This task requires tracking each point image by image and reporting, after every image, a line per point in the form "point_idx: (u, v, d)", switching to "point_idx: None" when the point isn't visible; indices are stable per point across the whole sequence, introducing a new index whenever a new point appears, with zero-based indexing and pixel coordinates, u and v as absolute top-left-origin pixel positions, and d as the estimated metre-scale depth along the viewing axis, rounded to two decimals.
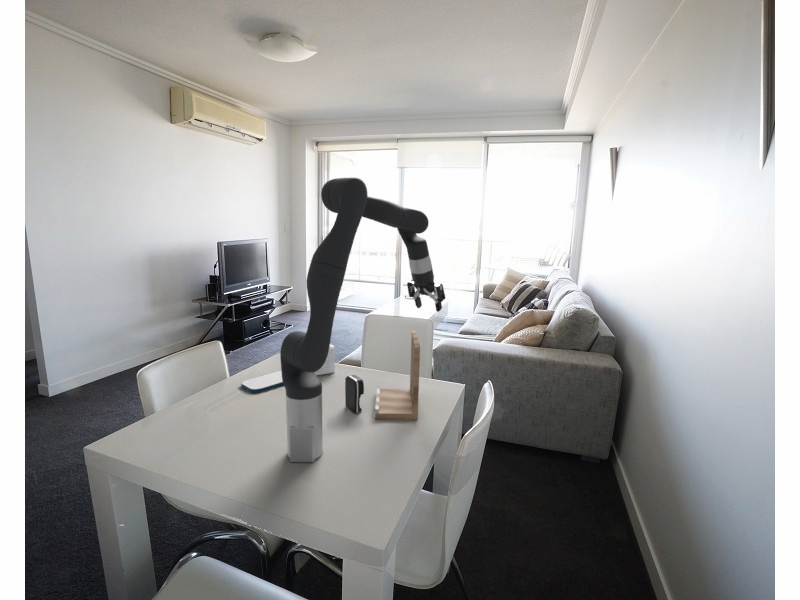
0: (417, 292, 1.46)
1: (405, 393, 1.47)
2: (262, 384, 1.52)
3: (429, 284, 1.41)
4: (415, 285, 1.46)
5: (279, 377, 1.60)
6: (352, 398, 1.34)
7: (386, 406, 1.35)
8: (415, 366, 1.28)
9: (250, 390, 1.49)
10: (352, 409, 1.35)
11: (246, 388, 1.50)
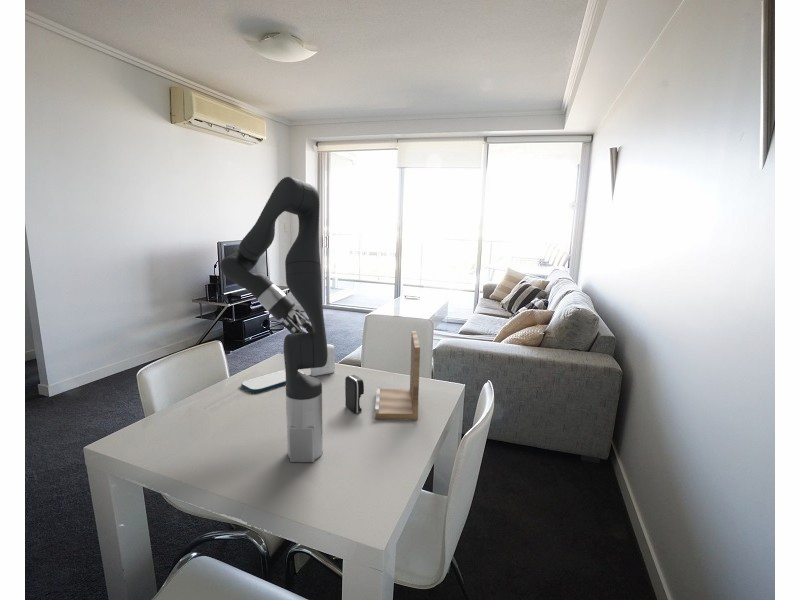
0: (298, 320, 1.28)
1: (405, 393, 1.47)
2: (263, 385, 1.52)
3: (293, 310, 1.33)
4: (291, 316, 1.27)
5: (279, 377, 1.60)
6: (352, 398, 1.34)
7: (386, 406, 1.35)
8: (415, 366, 1.28)
9: (250, 390, 1.49)
10: (352, 409, 1.35)
11: (246, 388, 1.50)
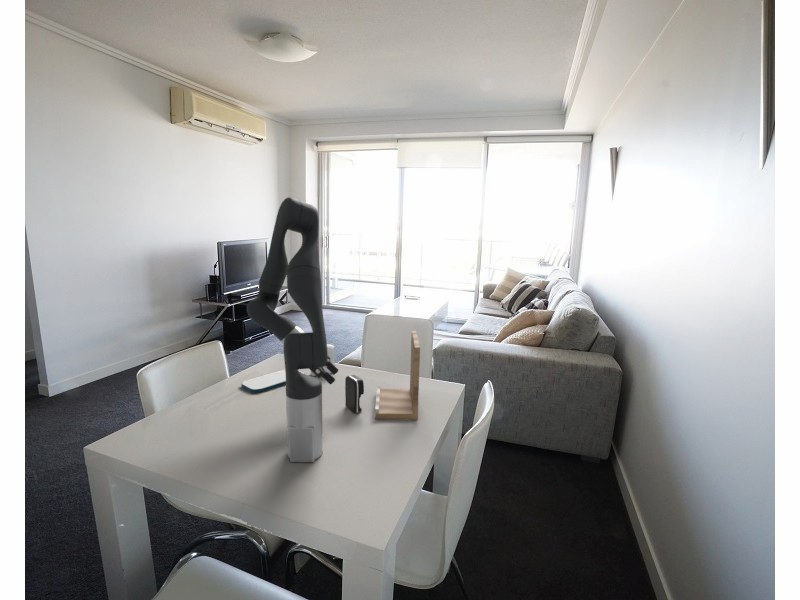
0: None
1: (405, 393, 1.47)
2: (263, 385, 1.52)
3: None
4: None
5: (279, 377, 1.60)
6: (352, 398, 1.34)
7: (386, 406, 1.35)
8: (415, 366, 1.28)
9: (251, 390, 1.48)
10: (352, 409, 1.35)
11: (246, 388, 1.50)
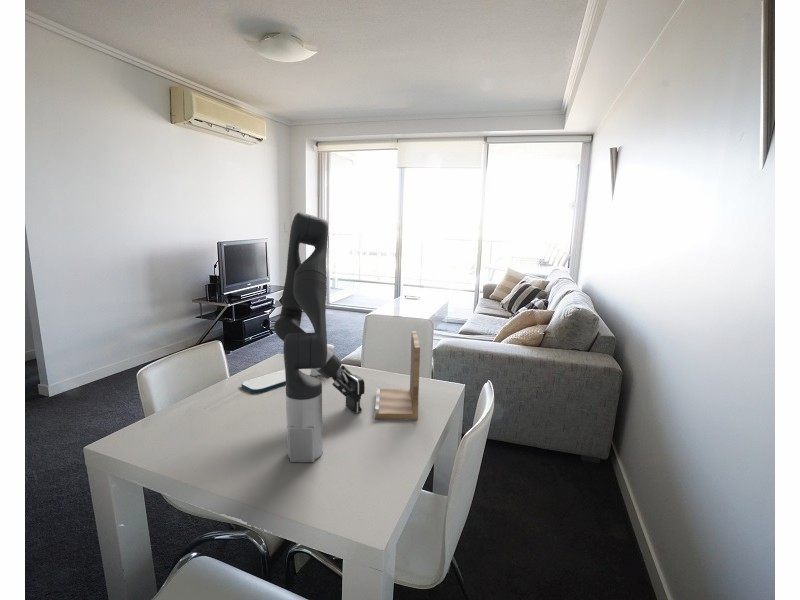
0: (346, 379, 1.33)
1: (405, 393, 1.47)
2: (263, 385, 1.52)
3: None
4: (339, 376, 1.32)
5: (279, 377, 1.60)
6: None
7: (386, 406, 1.35)
8: (415, 366, 1.28)
9: (251, 390, 1.48)
10: (352, 409, 1.35)
11: (246, 389, 1.50)
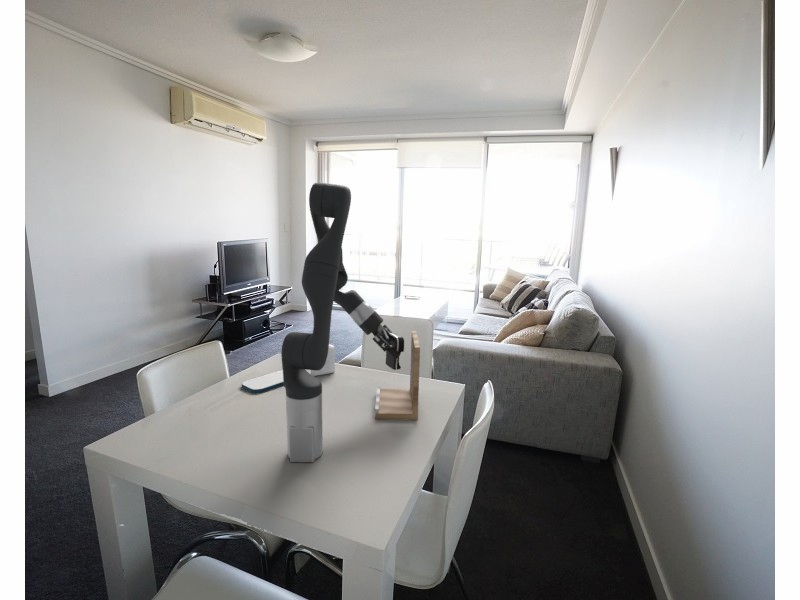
0: (387, 335, 1.36)
1: (405, 393, 1.47)
2: (263, 385, 1.52)
3: (381, 325, 1.41)
4: (380, 332, 1.35)
5: (279, 377, 1.60)
6: None
7: (386, 406, 1.35)
8: (415, 366, 1.28)
9: (251, 390, 1.48)
10: (391, 366, 1.37)
11: (247, 389, 1.50)
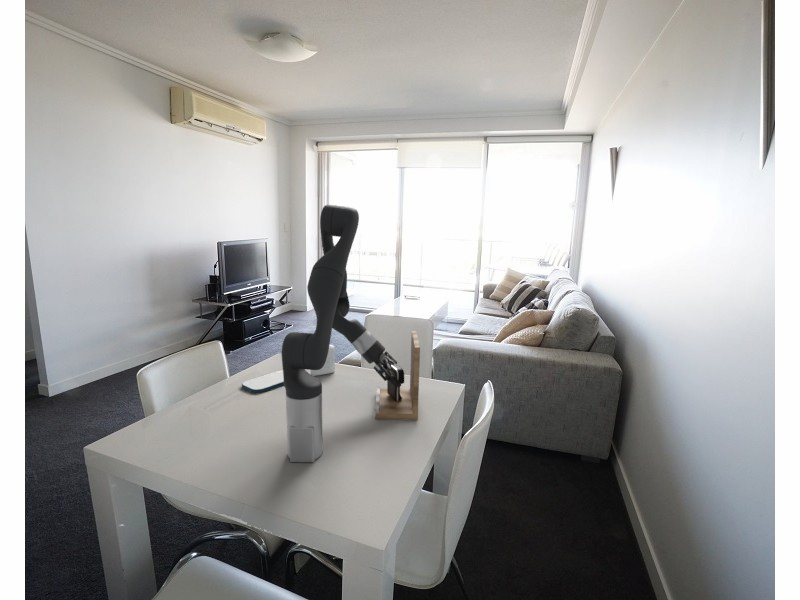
0: (388, 365, 1.37)
1: (405, 393, 1.47)
2: (264, 385, 1.52)
3: (383, 353, 1.43)
4: (381, 361, 1.37)
5: (279, 377, 1.60)
6: (393, 387, 1.39)
7: (386, 406, 1.35)
8: (415, 366, 1.28)
9: (252, 390, 1.48)
10: (393, 397, 1.40)
11: (247, 389, 1.50)
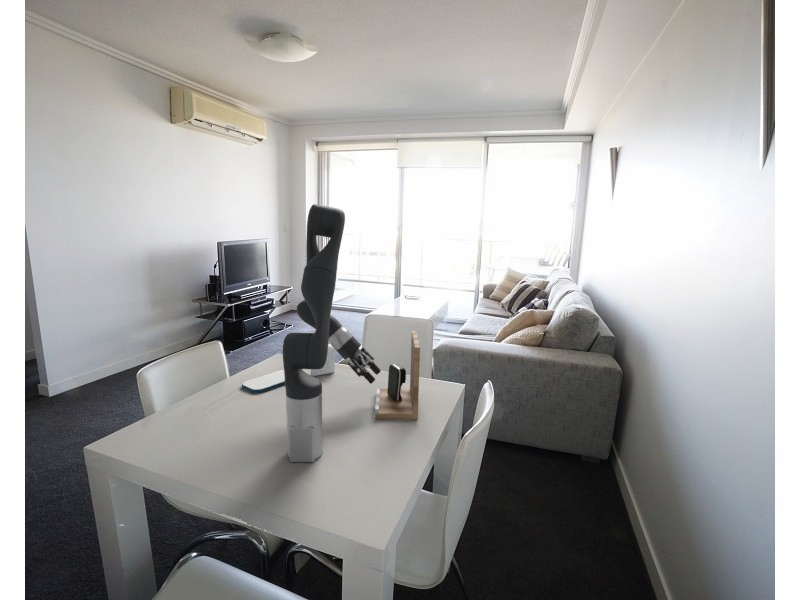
0: (363, 360, 1.38)
1: (405, 393, 1.47)
2: (264, 385, 1.52)
3: (359, 349, 1.44)
4: (356, 357, 1.38)
5: (279, 377, 1.60)
6: (394, 386, 1.40)
7: (386, 406, 1.35)
8: (415, 366, 1.28)
9: (252, 390, 1.48)
10: (393, 396, 1.40)
11: (247, 389, 1.50)
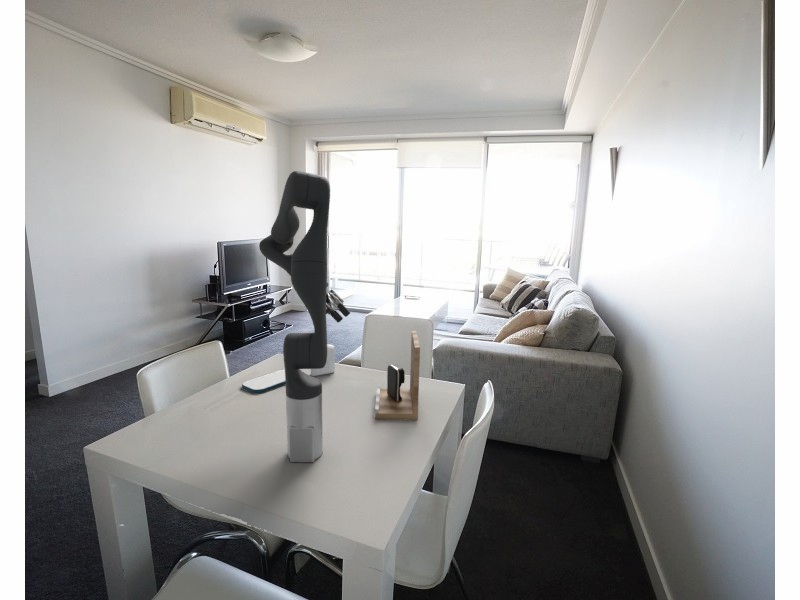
0: (330, 299, 1.32)
1: (405, 393, 1.47)
2: (264, 385, 1.52)
3: (327, 290, 1.37)
4: None
5: (279, 377, 1.60)
6: (393, 386, 1.40)
7: (386, 406, 1.35)
8: (415, 366, 1.28)
9: (253, 391, 1.48)
10: (393, 397, 1.40)
11: (247, 389, 1.50)
